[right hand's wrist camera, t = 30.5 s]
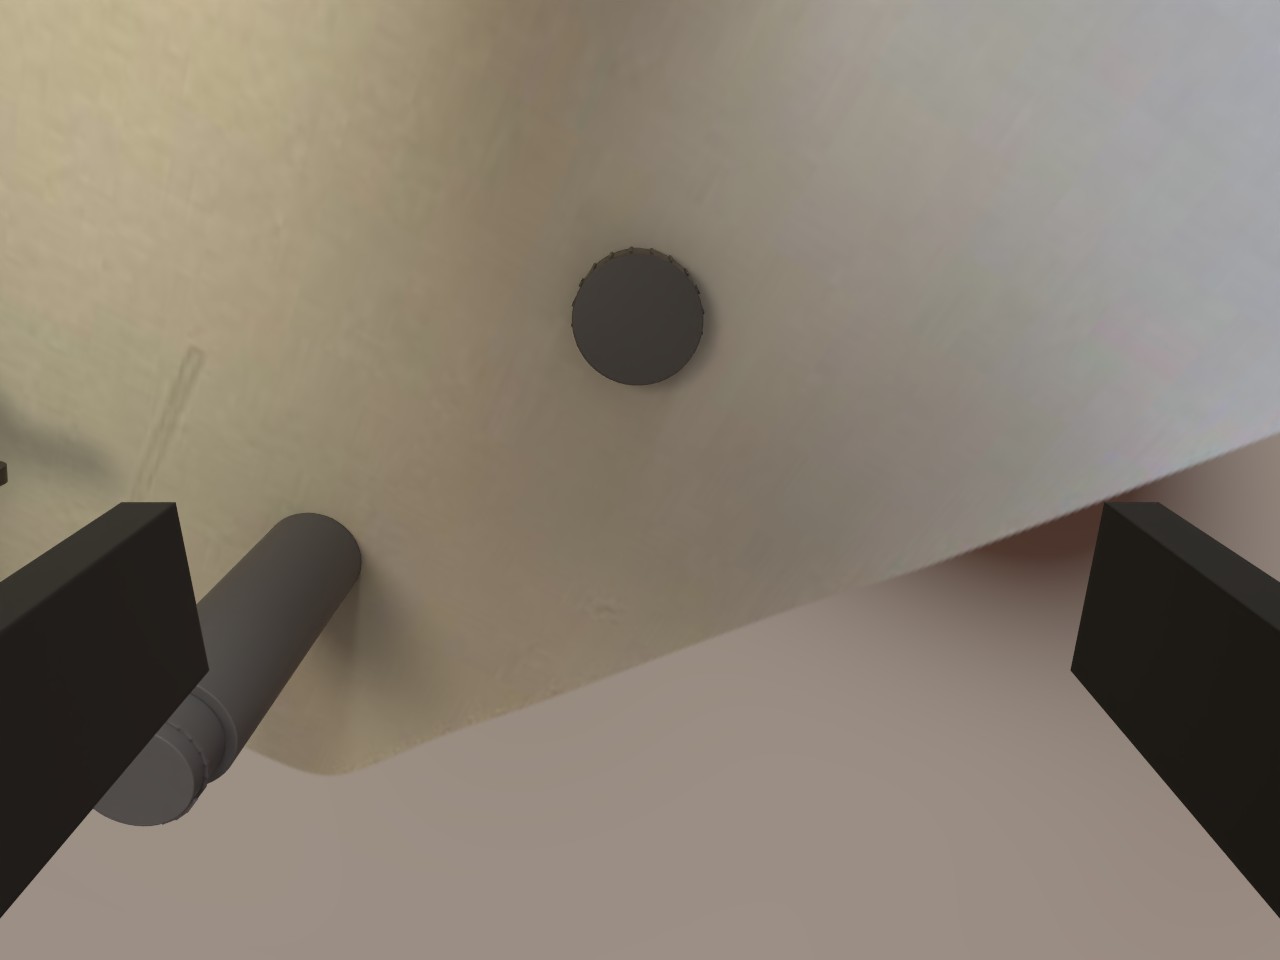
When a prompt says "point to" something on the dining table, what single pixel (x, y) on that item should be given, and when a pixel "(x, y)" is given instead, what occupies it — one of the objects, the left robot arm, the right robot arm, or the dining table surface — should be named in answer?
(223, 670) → the dark grey cylinder
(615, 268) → the lid
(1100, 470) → the dining table surface
